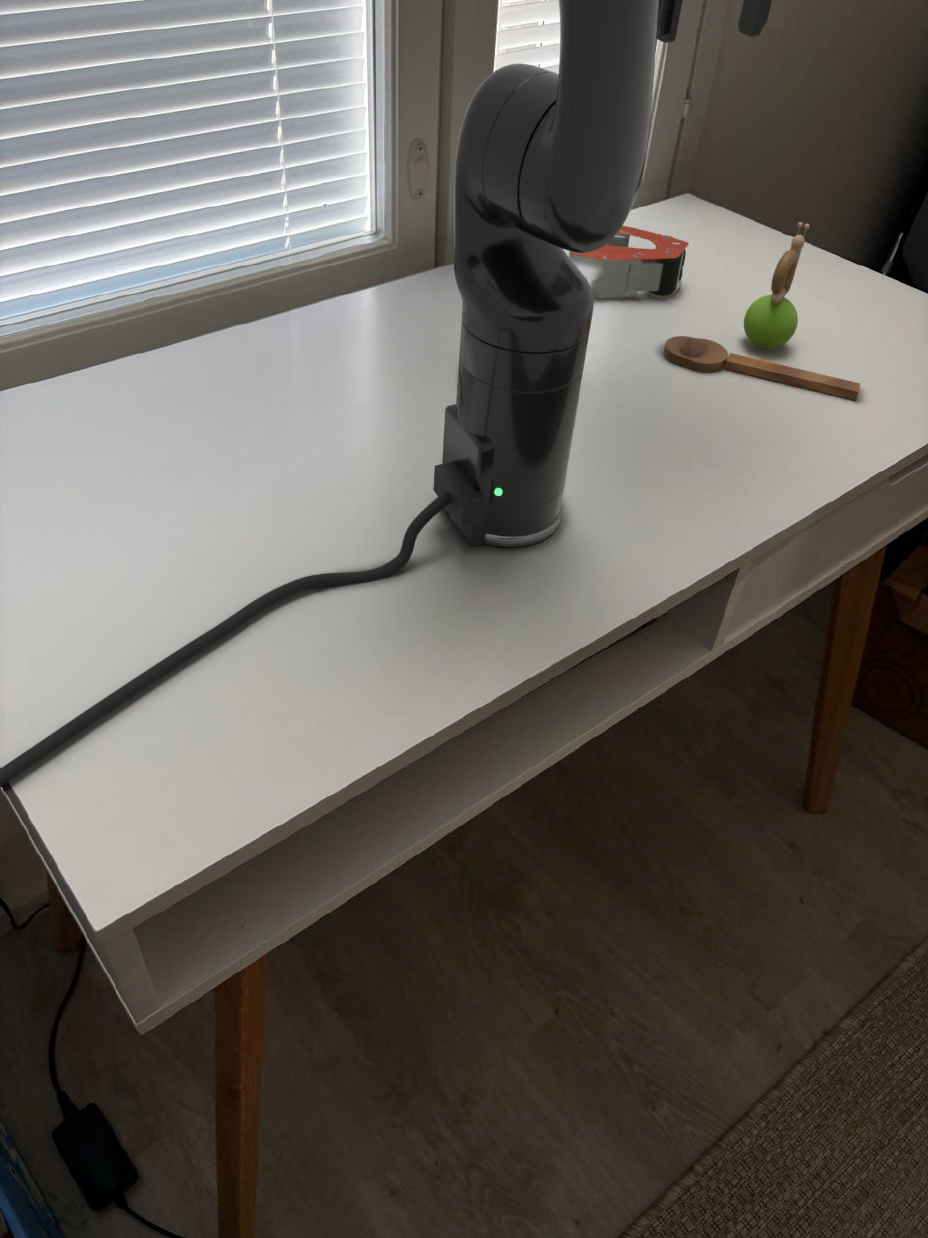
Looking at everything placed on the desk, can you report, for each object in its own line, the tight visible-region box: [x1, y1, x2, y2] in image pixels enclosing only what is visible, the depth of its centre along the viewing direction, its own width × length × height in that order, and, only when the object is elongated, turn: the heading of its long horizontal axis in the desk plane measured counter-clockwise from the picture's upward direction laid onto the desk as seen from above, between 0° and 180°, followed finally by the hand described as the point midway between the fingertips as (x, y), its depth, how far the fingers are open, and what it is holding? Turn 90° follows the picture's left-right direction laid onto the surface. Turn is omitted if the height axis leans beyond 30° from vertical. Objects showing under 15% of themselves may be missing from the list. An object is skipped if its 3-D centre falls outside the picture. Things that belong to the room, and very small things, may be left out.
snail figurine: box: [743, 221, 810, 350], centre depth 104 cm, size 5×6×12 cm
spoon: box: [663, 335, 861, 401], centre depth 103 cm, size 20×5×1 cm, turn 70°
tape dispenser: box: [567, 225, 690, 300], centre depth 113 cm, size 18×5×20 cm
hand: (706, 36), depth 82 cm, fingers open, 8 cm apart
